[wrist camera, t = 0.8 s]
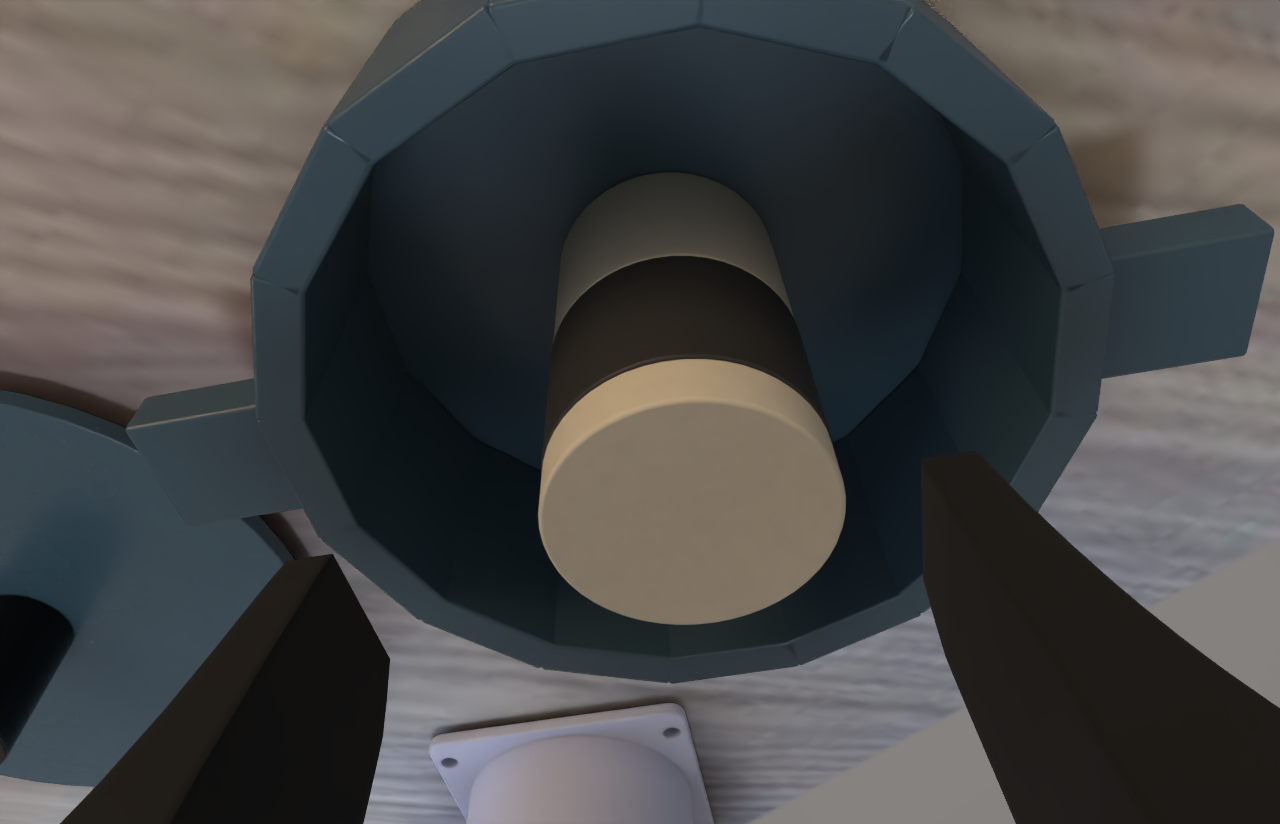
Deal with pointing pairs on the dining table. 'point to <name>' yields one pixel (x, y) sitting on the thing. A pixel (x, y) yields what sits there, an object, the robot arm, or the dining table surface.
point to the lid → (102, 591)
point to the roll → (682, 412)
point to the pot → (808, 262)
